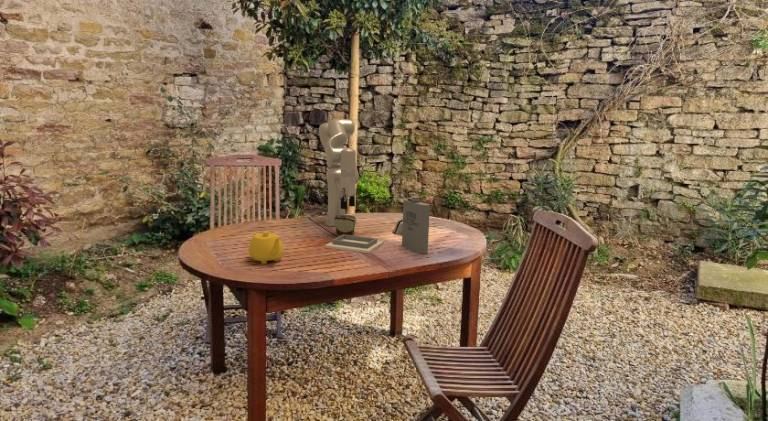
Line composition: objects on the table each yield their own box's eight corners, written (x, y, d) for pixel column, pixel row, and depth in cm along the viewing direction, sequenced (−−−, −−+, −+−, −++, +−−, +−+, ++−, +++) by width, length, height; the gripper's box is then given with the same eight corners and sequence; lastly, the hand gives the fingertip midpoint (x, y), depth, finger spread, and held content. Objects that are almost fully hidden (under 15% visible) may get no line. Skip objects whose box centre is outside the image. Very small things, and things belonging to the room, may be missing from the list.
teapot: (265, 269, 199) (265, 239, 196) (240, 258, 213) (240, 229, 211) (294, 263, 208) (294, 234, 206) (268, 252, 222) (268, 225, 220)
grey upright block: (399, 245, 240) (400, 193, 235) (406, 244, 243) (408, 193, 238) (421, 254, 226) (423, 199, 221) (429, 253, 228) (431, 199, 224)
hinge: (416, 229, 274) (421, 213, 270) (421, 234, 271) (426, 218, 266) (391, 232, 265) (395, 216, 261) (396, 237, 262) (400, 221, 257)
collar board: (325, 247, 233) (325, 240, 232) (342, 238, 249) (342, 232, 249) (368, 253, 225) (369, 246, 225) (383, 244, 242) (383, 237, 241)
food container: (360, 235, 257) (361, 216, 255) (354, 238, 252) (355, 218, 250) (339, 232, 262) (339, 213, 260) (333, 235, 257) (333, 215, 255)
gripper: (348, 172, 260) (348, 204, 263) (333, 174, 244) (333, 209, 247) (361, 172, 257) (361, 205, 260) (347, 175, 242) (347, 210, 244)
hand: (347, 207), depth 254 cm, fingers open, 9 cm apart
